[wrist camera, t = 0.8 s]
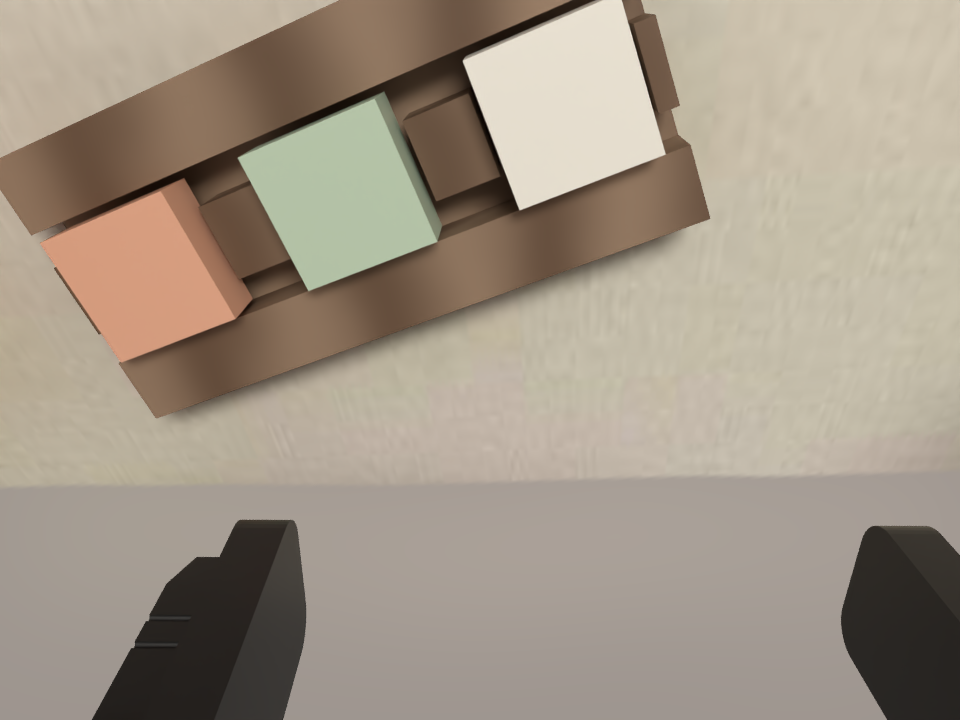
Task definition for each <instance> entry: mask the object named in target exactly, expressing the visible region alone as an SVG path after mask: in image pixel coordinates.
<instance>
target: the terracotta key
mask: <svg viewBox="0 0 960 720" xmlns="http://www.w3.org/2000/svg"><path fill="white" fill-rule="evenodd" d="M199 206H200V205H199V203H198V201H197V200H196V198H195V196H194V194H193V193H192V191H191V189H190V187H189V186H188V184H187V182H186V180H185V179H184V178H183V179H180V180H178V181H176V182H173V183H171V184H169V185H166V186H164V187H162V188H159V189H157V190H155V191H153V192H150V193H148V194H146V195H143V196H141V197H139V198H136V199H134V200H132V201H129V202H127V203H125V204H122V205H120V206H118V207H115V208H113V209H111V210H109V211H106V212H104V213H102V214H99V215H97V216H95V217H92V218H90V219H88V220H85V221H83V222H81V223H78V224H76V225H74V226H72V227H69V228H68V229H66V230H64V231H62V232H60V233H58V234H56V235H54V236H52V237H50V238H49V239H47V240H45V241H43V242H41V243H40V244H41V245H42V247H43V248H44V250H45V251H46V253H47V254H48V256H49V257H50V259H51V260H52V262H53V263H54V265H55V266H56V268H57V269H58V271H59V272H60V273H61V275H62V276H63V278H64V279H65V281H66V282H67V284H68V285H69V287H70V288H71V290H72V291H73V293H74V294H75V296H76V297H77V299H78V300H79V301H80V303H81V304H82V306H83V307H84V309H85V310H86V312H87V313H88V315H89V316H90V318H91V319H92V321H93V322H94V324H95V325H96V326H97V328H98V329H99V331H100V332H101V334H102V335H103V337H104V338H105V340H106V341H107V343H108V344H109V346H110V347H111V349H112V350H113V352H114V353H115V354H116V356H117V357H118V359H119V360H120V362H121V363H122V362H124V361H127V360H130V359H132V358H135V357H137V356H140V355H143V354H145V353H148V352H150V351H153V350H156V349H158V348H161V347H164V346H166V345H169V344H171V343H174V342H177V341H179V340H182V339H184V338H187V337H190V336H192V335H195V334H198V333H200V332H203V331H205V330H208V329H211V328H213V327H216V326H219V325H221V324H224V323H226V322H229V321H232V320H234V319H236V318H237V317H238V316H239V314H240V313H241V312H242V311H243V310H244V309H245V307H246V306H247V305H248V304H249V303H250V301H251V300H252V299H253V298H252V296H251V295H250V293H249V291H248V289H247V287H246V286H245V284H244V282H243V280H242V279H239V278H238V276H237V275H236V273H235V271H234V269H233V268H232V266H231V264H230V262H229V261H228V259H227V257H226V255H225V254H224V252H223V250H222V248H221V247H220V245H219V243H218V241H217V240H216V238H215V236H214V234H213V233H212V231H211V229H210V227H209V226H208V224H207V222H206V220H205V219H204V217H203V215H202V213H201V212H200V210H199V208H198V207H199Z"/></svg>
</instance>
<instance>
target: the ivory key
mask: <svg viewBox="0 0 960 720" xmlns="http://www.w3.org/2000/svg"><path fill="white" fill-rule="evenodd" d="M463 63H464V66H465V68H466V71H467V74H468V76H469V79H470V81H471V84H472V87H473V89H474V92H475V95H476V97H477V100H478V102H479V105H480V108H481V110H482V113H483V116H484V118H485V121H486V123H487V126H488V129H489V131H490V134H491V137H492V139H493V142H494V144H495V147H496V150H497V152H498V155H499V158H500V160H501V163H502V165H503V168H504V171H505V173H506V176H507V179H508V181H509V184H510V186H511V189H512V192H513V194H514V197H515V200H516V202H517V205H518V207H519V210H522V209H525V208H527V207H530V206H532V205H535V204H538V203H540V202H543V201H546V200H548V199H551V198H553V197H556V196H559V195H561V194H564V193H566V192H569V191H572V190H574V189H577V188H580V187H582V186H585V185H587V184H590V183H593V182H595V181H598V180H600V179H603V178H606V177H608V176H611V175H614V174H616V173H619V172H621V171H624V170H627V169H629V168H632V167H634V166H637V165H640V164H642V163H645V162H648V161H650V160H653V159H655V158H658V157H661V156H663V155H666V154H665V150H664V147H663V143H662V140H661V136H660V133H659V129H658V126H657V122H656V119H655V115H654V112H653V108H652V105H651V101H650V98H649V94H648V91H647V87H646V84H645V80H644V77H643V73H642V70H641V66H640V63H639V59H638V56H637V52H636V49H635V45H634V42H633V38H632V35H631V31H630V27H629V24H628V20H627V17H626V13H625V10H624V6H623V3H622V0H594V1H592V2H590V3H587V4H585V5H583V6H580V7H578V8H576V9H574V10H571V11H569V12H567V13H564V14H562V15H560V16H557V17H555V18H553V19H550V20H548V21H546V22H543V23H541V24H539V25H537V26H534V27H532V28H530V29H527V30H525V31H523V32H520V33H518V34H516V35H513V36H511V37H509V38H506V39H504V40H502V41H500V42H497V43H495V44H493V45H490V46H488V47H486V48H483V49H481V50H479V51H476V52H474V53H472V54H469V55H467V56H466V57H465V58H464V60H463Z"/></svg>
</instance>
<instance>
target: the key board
mask: <svg viewBox="0 0 960 720" xmlns="http://www.w3.org/2000/svg"><path fill="white" fill-rule="evenodd" d="M592 1H594V0H339V1H337V2H335V3H332V4H330V5H328V6H326V7H324V8H322V9H319V10H317V11H315V12H313V13H311V14H309V15H307V16H304V17H302V18H300V19H298V20H296V21H294V22H292V23H289V24H287V25H285V26H283V27H281V28H279V29H276V30H274V31H272V32H270V33H268V34H266V35H264V36H261V37H259V38H257V39H255V40H253V41H251V42H249V43H246V44H244V45H242V46H240V47H238V48H236V49H233V50H231V51H229V52H227V53H225V54H223V55H221V56H218V57H216V58H214V59H212V60H210V61H208V62H206V63H203V64H201V65H199V66H197V67H195V68H193V69H190V70H188V71H186V72H184V73H182V74H180V75H178V76H175V77H173V78H171V79H169V80H167V81H165V82H163V83H160V84H158V85H156V86H154V87H152V88H150V89H147V90H145V91H143V92H141V93H139V94H137V95H135V96H132V97H130V98H128V99H126V100H124V101H122V102H120V103H117V104H115V105H113V106H111V107H109V108H107V109H104V110H102V111H100V112H98V113H96V114H94V115H92V116H89V117H87V118H85V119H83V120H81V121H79V122H77V123H74V124H72V125H70V126H68V127H66V128H64V129H61V130H59V131H57V132H55V133H53V134H51V135H49V136H46V137H44V138H42V139H40V140H38V141H36V142H34V143H31V144H29V145H27V146H25V147H23V148H21V149H18V150H16V151H14V152H12V153H10V154H8V155H6V156H3V157H1V158H0V190H1V191H2V193H3V194H4V196H5V197H6V199H7V200H8V202H9V203H10V205H11V206H12V208H13V209H14V211H15V212H16V214H17V215H18V216H19V218H20V219H21V221H22V222H23V224H24V225H25V227H26V228H27V230H28V231H29V233H30V234H31V235H33V234H36V233H38V232H40V231H43V230H45V229H47V228H49V227H52V226H54V225H56V224H59V223H61V222H63V224H64V225H65V227H66V228H67V229H68V228H69V227H72V226H74V225H76V224H78V223H81V222H83V221H85V220H88V219H90V218H92V217H95V216H97V215H99V214H102V213H104V212H106V211H109V210H111V209H113V208H115V207H118V206H120V205H122V204H125V203H127V202H129V201H132V200H134V199H136V198H139V197H141V196H143V195H146V194H148V193H150V192H153V191H155V190H157V189H159V188H162V187H164V186H166V185H169V184H171V183H173V182H176V181H178V180H180V179H183V178H184V179H185V180H186V182H187V184H188V186H189V187H190V189H191V191H192V193H193V194H194V196H195V198H196V200H197V201H198V203H199V205H200V206H199V207H198V208H199V210H200V212H201V213H202V215H203V217H204V219H205V220H206V222H207V224H208V226H209V227H210V229H211V231H212V233H213V234H214V236H215V238H216V240H217V241H218V243H219V245H220V247H221V248H222V250H223V252H224V254H225V255H226V257H227V259H228V261H229V262H230V264H231V266H232V268H233V269H234V271H235V273H236V275H237V276H238V278H239V279H242V280H243V282H244V284H245V286H246V287H247V289H248V291H249V293H250V295H251V296H252V298H253V299H252V300H251V301H250V303H249V304H248V305H247V306H246V307H245V309H244V310H243V311H242V312H241V313H240V314H239V316H238V317H237V318H236V319H234V320H232V321H229V322H226V323H224V324H221V325H219V326H216V327H213V328H211V329H208V330H205V331H203V332H200V333H198V334H195V335H192V336H190V337H187V338H184V339H182V340H179V341H177V342H174V343H171V344H169V345H166V346H164V347H161V348H158V349H156V350H153V351H150V352H148V353H145V354H143V355H140V356H137V357H135V358H132V359H130V360H127V361H124V362H122V363H121V362H120V363H119V365H120V366H121V368H122V369H123V371H124V372H125V374H126V375H127V376H128V378H129V379H130V381H131V382H132V384H133V385H134V387H135V388H136V390H137V391H138V393H139V394H140V396H141V397H142V399H143V400H144V401H145V403H146V404H147V406H148V407H149V409H150V410H151V412H152V413H153V415H154V416H155V418H159V417H162V416H165V415H167V414H170V413H173V412H176V411H178V410H181V409H184V408H187V407H190V406H192V405H195V404H198V403H201V402H203V401H206V400H209V399H212V398H214V397H217V396H220V395H223V394H226V393H228V392H231V391H234V390H237V389H239V388H242V387H245V386H248V385H251V384H253V383H256V382H259V381H262V380H264V379H267V378H270V377H273V376H275V375H278V374H281V373H284V372H287V371H289V370H292V369H295V368H298V367H300V366H303V365H306V364H309V363H312V362H314V361H317V360H320V359H323V358H325V357H328V356H331V355H334V354H337V353H339V352H342V351H345V350H348V349H350V348H353V347H356V346H359V345H361V344H364V343H367V342H370V341H373V340H375V339H378V338H381V337H384V336H386V335H389V334H392V333H395V332H398V331H400V330H403V329H406V328H409V327H411V326H414V325H417V324H420V323H422V322H425V321H428V320H431V319H434V318H436V317H439V316H442V315H445V314H447V313H450V312H453V311H456V310H459V309H461V308H464V307H467V306H470V305H472V304H475V303H478V302H481V301H484V300H486V299H489V298H492V297H495V296H497V295H500V294H503V293H506V292H508V291H511V290H514V289H517V288H520V287H522V286H525V285H528V284H531V283H533V282H536V281H539V280H542V279H545V278H547V277H550V276H553V275H556V274H558V273H561V272H564V271H567V270H569V269H572V268H575V267H578V266H581V265H583V264H586V263H589V262H592V261H594V260H597V259H600V258H603V257H606V256H608V255H611V254H614V253H617V252H619V251H622V250H625V249H628V248H631V247H633V246H636V245H639V244H642V243H644V242H647V241H650V240H653V239H655V238H658V237H661V236H664V235H667V234H669V233H672V232H675V231H678V230H680V229H683V228H686V227H689V226H692V225H694V224H697V223H700V222H703V221H705V220H708V219H710V216H709V212H708V208H707V205H706V201H705V197H704V194H703V190H702V186H701V182H700V179H699V175H698V171H697V168H696V164H695V160H694V156H693V153H692V149H691V145H690V144H689V143H687V142H686V141H685V140H684V139H683V138H681V137H680V136H679V135H678V133H677V129H676V125H675V122H674V118H673V115H672V111H671V109H673V108H675V107H678V106H680V104H679V101H678V97H677V93H676V90H675V86H674V82H673V78H672V75H671V71H670V67H669V64H668V60H667V56H666V52H665V49H664V45H663V41H662V38H661V34H660V30H659V26H658V23H657V19H656V15H653V14H646V13H644V9H643V5H642V2H641V0H622V3H623V6H624V10H625V13H626V17H627V20H628V24H629V27H630V31H631V35H632V38H633V42H634V45H635V49H636V52H637V56H638V59H639V63H640V66H641V70H642V73H643V77H644V80H645V84H646V87H647V91H648V94H649V98H650V101H651V105H652V108H653V112H654V115H655V119H656V122H657V126H658V129H659V133H660V136H661V140H662V143H663V147H664V150H665V154H666V155H663V156H661V157H658V158H655V159H653V160H650V161H648V162H645V163H642V164H640V165H637V166H634V167H632V168H629V169H627V170H624V171H621V172H619V173H616V174H614V175H611V176H608V177H606V178H603V179H600V180H598V181H595V182H593V183H590V184H587V185H585V186H582V187H580V188H577V189H574V190H572V191H569V192H566V193H564V194H561V195H559V196H556V197H553V198H551V199H548V200H546V201H543V202H540V203H538V204H535V205H532V206H530V207H527V208H525V209H522V210H519V207H518V205H517V202H516V200H515V197H514V194H513V192H512V189H511V186H510V184H509V181H508V179H507V176H506V173H505V171H504V168H503V165H502V163H501V160H500V158H499V155H498V152H497V150H496V147H495V144H494V142H493V139H492V137H491V134H490V131H489V129H488V126H487V123H486V121H485V118H484V116H483V113H482V110H481V108H480V105H479V102H478V100H477V97H476V95H475V92H474V89H473V87H472V84H471V81H470V79H469V76H468V74H467V71H466V68H465V66H464V63H463V60H464V58H465V57H466V56H467V55H469V54H472V53H474V52H476V51H479V50H481V49H483V48H486V47H488V46H490V45H493V44H495V43H497V42H500V41H502V40H504V39H506V38H509V37H511V36H513V35H516V34H518V33H520V32H523V31H525V30H527V29H530V28H532V27H534V26H537V25H539V24H541V23H543V22H546V21H548V20H550V19H553V18H555V17H557V16H560V15H562V14H564V13H567V12H569V11H571V10H574V9H576V8H578V7H580V6H583V5H585V4H587V3H590V2H592ZM382 92H385V94H386V96H387V99H388V101H389V103H390V106H391V108H392V110H393V113H394V115H395V117H396V120H397V122H398V124H399V127H400V129H401V131H402V133H403V136H404V138H405V140H406V143H407V145H408V147H409V150H410V152H411V154H412V157H413V159H414V161H415V164H416V166H417V168H418V171H419V173H420V175H421V178H422V180H423V182H424V185H425V187H426V189H427V191H428V194H429V196H430V198H431V201H432V203H433V205H434V208H435V210H436V212H437V215H438V217H439V219H440V222H441V224H442V228H441V231H440V235H439V238H438V242H436V243H433V244H430V245H428V246H425V247H423V248H420V249H417V250H415V251H412V252H409V253H407V254H404V255H402V256H399V257H396V258H394V259H391V260H389V261H386V262H383V263H381V264H378V265H375V266H373V267H370V268H368V269H365V270H362V271H360V272H357V273H355V274H352V275H349V276H347V277H344V278H341V279H339V280H336V281H334V282H331V283H328V284H326V285H323V286H321V287H318V288H315V289H313V290H310V291H308V289H307V287H306V285H305V284H304V282H303V280H302V278H301V276H300V274H299V272H298V270H297V268H296V267H295V265H294V263H293V261H292V259H291V257H290V255H289V253H288V252H287V250H286V248H285V246H284V244H283V242H282V240H281V238H280V237H279V235H278V233H277V231H276V229H275V227H274V225H273V223H272V221H271V220H270V218H269V216H268V214H267V212H266V210H265V208H264V206H263V205H262V203H261V201H260V199H259V197H258V195H257V193H256V191H255V190H254V188H253V186H252V184H251V182H250V180H249V178H248V176H247V174H246V173H245V171H244V169H243V167H242V165H241V163H240V161H239V159H238V157H240V156H241V155H243V154H245V153H246V152H248V151H250V150H252V149H253V148H255V147H257V146H259V145H261V144H264V143H266V142H268V141H270V140H273V139H275V138H277V137H280V136H282V135H284V134H287V133H289V132H291V131H294V130H296V129H298V128H301V127H303V126H305V125H307V124H310V123H312V122H314V121H317V120H319V119H321V118H324V117H326V116H328V115H331V114H333V113H335V112H338V111H340V110H342V109H345V108H347V107H349V106H351V105H354V104H356V103H358V102H361V101H363V100H365V99H368V98H370V97H372V96H375V95H377V94H379V93H382ZM54 269H55V271H56V272H57V274H58V275H59V277H60V278H61V280H62V281H63V283H64V284H65V285H66V287H67V288H68V290H69V291H70V293H71V294H72V296H73V297H74V299H75V300H76V302H77V303H78V305H79V306H80V307H81V309H82V310H83V312H84V313H85V315H86V316H87V318H88V319H89V321H90V322H91V324H92V325H93V327H94V328H95V330H96V331H97V332H98V334H101V332H100V331H99V329H98V328H97V326H96V325H95V324H94V322H93V321H92V319H91V318H90V316H89V315H88V313H87V312H86V310H85V309H84V307H83V306H82V304H81V303H80V301H79V300H78V299H77V297H76V296H75V294H74V293H73V291H72V290H71V288H70V287H69V285H68V284H67V282H66V281H65V279H64V278H63V276H62V275H61V273H60V272H59V271H58V269H57V268H56V267H55V268H54Z"/></svg>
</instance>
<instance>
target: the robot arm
mask: <svg viewBox="0 0 960 720" xmlns="http://www.w3.org/2000/svg"><path fill="white" fill-rule="evenodd" d="M841 626H842V634H843V638H844V642H845V645H846V649H847V651H848V653H849V655H850V657H851V659H852V661H853V662H854V664H855V666H856V668H857V669H858V671H859V673H860V674H861V676H862V678H863V679H864V681H865V683H866V684H867V686H868V688H869V690H870V691H871V693H872V695H873V696H874V698H875V700H876V701H877V703H878V705H879V707H880V708H881V710H882V712H883V713H884V715H885V717H886V718H887V720H960V555H959V554H958V553H957V552H956V551H955V549H954V548H953V547H952V546H951V545H950V544H949V543H948V542H947V541H946V540H945V538H944V537H943V536H942V535H941V534H940V533H939V532H938V531H937V530H935V529H933V528H931V527H928V526H872V527H870V528H869V529H868V530H867V531H866V532H865V534H864V536H863V538H862V542H861V545H860V548H859V552H858V555H857V559H856V562H855V567H854V570H853V573H852V576H851V580H850V584H849V587H848V590H847V594H846V597H845V601H844V604H843V608H842V615H841ZM305 627H306V602H305V592H304V583H303V574H302V565H301V557H300V548H299V539H298V531H297V527H296V524H295V522H294V521H293V520H239V521H238V522H237V523H236V524H235V526H234V528H233V530H232V532H231V534H230V536H229V538H228V540H227V542H226V544H225V547H224V549H223V551H222V553H221V555H220V557H196V558H195V559H194V560H193V561H192V562H191V563H190V564H188V565H187V566H186V567H185V568H184V569H183V570H182V571H180V572H179V574H177V575H176V576H175V577H174V578H173V579H171V581H169V582H168V583H167V584H166V586H165V588H164V590H163V591H162V593H161V595H160V597H159V599H158V600H157V603H156V604H155V606H154V608H153V610H152V611H151V613H150V619H149V621H146V622H145V624H144V626H143V628H142V630H141V631H140V633H139V635H138V637H137V639H136V640H135V647H134V648H131V650H130V651H129V653H128V655H127V657H126V659H125V661H124V662H123V664H122V666H121V668H120V670H119V671H118V673H117V675H116V677H115V679H114V680H113V682H112V684H111V686H110V688H109V690H108V691H107V693H106V695H105V697H104V699H103V700H102V702H101V704H100V706H99V708H98V710H97V711H96V713H95V715H94V717H93V719H92V720H283V718H284V714H285V711H286V707H287V703H288V700H289V696H290V692H291V689H292V685H293V681H294V678H295V674H296V671H297V667H298V663H299V660H300V656H301V653H302V648H303V643H304V637H305Z"/></svg>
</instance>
